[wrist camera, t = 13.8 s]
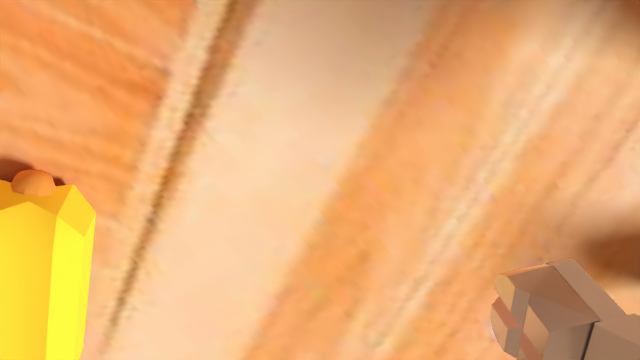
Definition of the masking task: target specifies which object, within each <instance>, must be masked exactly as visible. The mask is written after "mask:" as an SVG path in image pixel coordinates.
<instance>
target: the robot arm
mask: <svg viewBox="0 0 640 360" xmlns="http://www.w3.org/2000/svg"><path fill="white" fill-rule="evenodd" d="M494 289H495V291H496V292H497V294H498V295H499V297H498V298H497V299H496V301H495V302H494V303H493V304H492V308H491V322H492V327H493V331H494V334H495V336H496V339H497V341H498V343H499V344H500V346H501V347H502V349H503V351H504V352H506V353H508V354H510V355H512V356H513V357H515V358H517V360H640V316H638V315H636V314H630V315H627V314H626V313H625V312H624V311H623V310H622V309H621V308H620V307H619V306H618V305H617V304H616V303H615V302H614V301H613V299H612V298H611V297H610V296H609V295H608V294H607V293H606V292H605V291H604V290H603V289H602V288H601V287H600V286H599V285H598V284H597V282H596V281H595V280H594V279H593V278H592V277H591V276H590V275H589V274H588V273H587V272H586V271H585V270H584V269H583V268H582V266H581V265H580V264H579V263H578V262H577V261H575V260H573V259H571V258H568V259H563V260H559V261H554V262H550V263H546V264H540V265H536V266H532V267H527V268H523V269H519V270H514V271H510V272H506V273H501V274H499V275H498V277H497V278H496V281H495V287H494Z"/></svg>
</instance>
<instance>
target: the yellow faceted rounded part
mask: <svg viewBox="0 0 640 360" xmlns="http://www.w3.org/2000/svg"><path fill="white" fill-rule="evenodd" d="M95 217H96V212H95V211H94V210H93V208H92V207H91V206H90V205H89V203H88V202H87V201H86V199H85V198H84V197H83V196H82V194H81V193H80V192H79V191H78V189H77V188H76V187H75V185H74V184H71V185H62V186H55V183H54V181H53V178H52V176H51V174H49V173H47V172H45V171H42V170H32V169H30V170H25V171H20V172H19V173H18V174H16V175H15V177H14V179H13V181H12V183H10V182H7V181H4V180H0V360H79V358H80V355H81V353H82V350H83V341H84V331H85V321H86V310H87V300H88V290H89V280H90V269H91V259H92V248H93V238H94V228H95Z"/></svg>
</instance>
